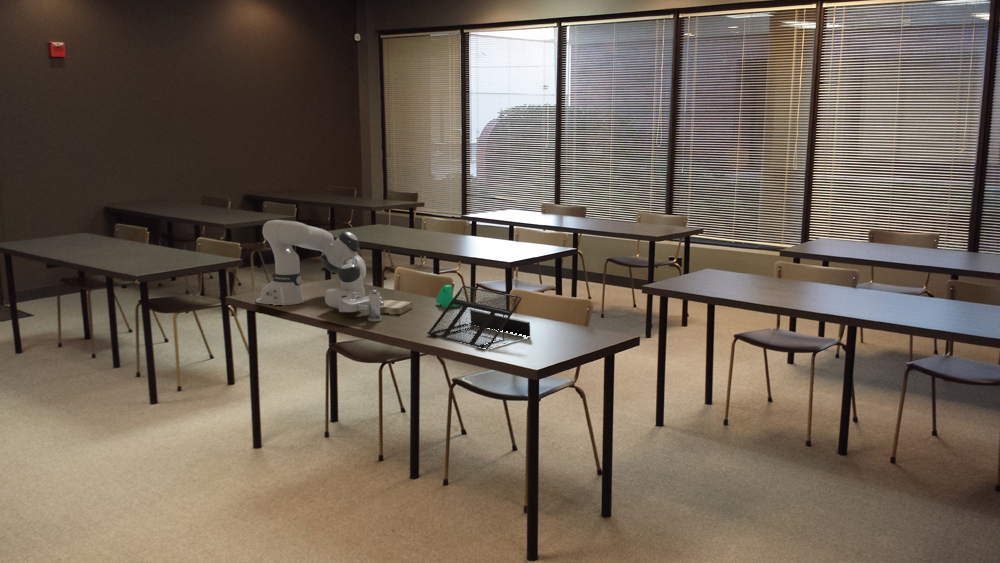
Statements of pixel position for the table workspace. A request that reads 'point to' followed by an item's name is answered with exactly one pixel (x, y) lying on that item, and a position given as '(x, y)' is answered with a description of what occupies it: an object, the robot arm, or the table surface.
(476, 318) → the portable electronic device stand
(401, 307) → the wooden stand
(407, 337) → the table surface
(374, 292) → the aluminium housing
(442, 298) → the green toy figure
